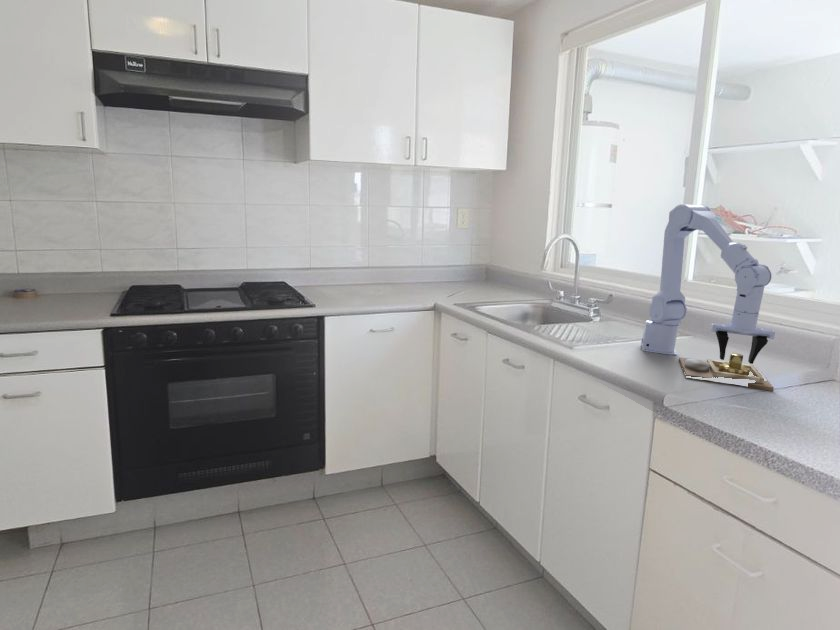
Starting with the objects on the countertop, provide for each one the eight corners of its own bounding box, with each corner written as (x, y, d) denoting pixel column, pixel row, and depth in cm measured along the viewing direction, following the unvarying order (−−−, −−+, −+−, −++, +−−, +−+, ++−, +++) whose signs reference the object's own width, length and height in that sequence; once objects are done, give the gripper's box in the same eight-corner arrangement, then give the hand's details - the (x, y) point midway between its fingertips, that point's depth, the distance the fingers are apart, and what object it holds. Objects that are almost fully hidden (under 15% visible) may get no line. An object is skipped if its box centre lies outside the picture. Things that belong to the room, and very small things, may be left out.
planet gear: (720, 374, 145) (724, 356, 144) (716, 366, 152) (719, 349, 150) (751, 379, 143) (755, 360, 142) (745, 370, 149) (749, 353, 148)
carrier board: (685, 378, 144) (687, 369, 143) (678, 360, 158) (680, 352, 158) (772, 391, 138) (774, 381, 137) (757, 371, 152) (758, 362, 152)
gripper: (718, 310, 141) (708, 360, 145) (782, 318, 137) (771, 369, 140) (713, 305, 148) (704, 353, 151) (774, 312, 143) (763, 361, 147)
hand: (736, 360), depth 146 cm, fingers open, 6 cm apart
